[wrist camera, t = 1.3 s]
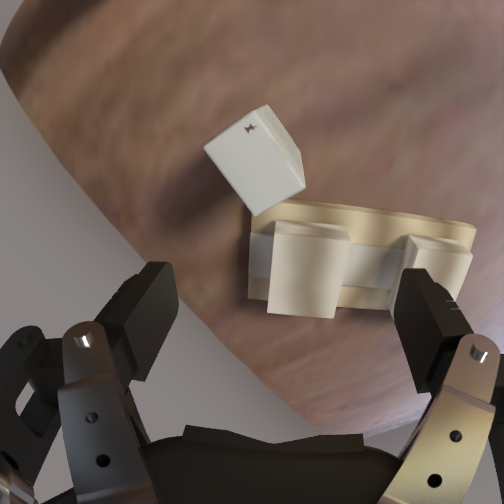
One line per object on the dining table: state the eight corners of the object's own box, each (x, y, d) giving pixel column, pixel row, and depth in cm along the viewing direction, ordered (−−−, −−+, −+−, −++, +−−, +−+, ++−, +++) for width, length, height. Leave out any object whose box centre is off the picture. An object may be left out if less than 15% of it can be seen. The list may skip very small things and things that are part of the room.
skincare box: (232, 126, 29) (199, 145, 19) (267, 103, 28) (254, 106, 17) (266, 175, 31) (253, 220, 21) (302, 153, 30) (309, 187, 19)
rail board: (249, 291, 38) (242, 320, 33) (254, 195, 33) (247, 215, 28) (441, 305, 36) (456, 333, 31) (471, 224, 31) (493, 245, 26)
